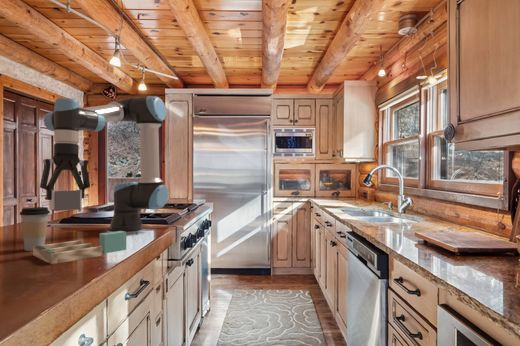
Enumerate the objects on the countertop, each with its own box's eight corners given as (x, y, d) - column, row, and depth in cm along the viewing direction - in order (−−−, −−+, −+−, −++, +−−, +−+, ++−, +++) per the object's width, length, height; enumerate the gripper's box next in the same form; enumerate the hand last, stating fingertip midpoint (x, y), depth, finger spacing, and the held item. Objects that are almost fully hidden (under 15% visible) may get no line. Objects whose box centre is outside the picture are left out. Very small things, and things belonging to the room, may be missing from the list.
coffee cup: (24, 247, 129) (24, 207, 129) (52, 245, 132) (53, 206, 132) (14, 252, 120) (15, 209, 120) (45, 251, 123) (46, 209, 123)
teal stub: (120, 248, 129) (121, 230, 129) (126, 249, 127) (126, 232, 127) (99, 251, 123) (99, 233, 123) (104, 253, 121) (104, 234, 121)
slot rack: (80, 248, 129) (80, 239, 129) (102, 255, 117) (102, 245, 117) (32, 255, 117) (33, 245, 117) (51, 264, 105) (51, 253, 106)
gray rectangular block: (75, 208, 125) (75, 190, 125) (80, 209, 122) (80, 190, 122) (51, 210, 119) (51, 191, 119) (55, 211, 116) (55, 191, 116)
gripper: (92, 146, 131) (91, 206, 131) (28, 141, 115) (27, 210, 115) (101, 144, 126) (100, 207, 126) (35, 140, 110) (35, 211, 110)
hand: (65, 208), depth 120 cm, fingers closed on gray rectangular block, 8 cm apart
